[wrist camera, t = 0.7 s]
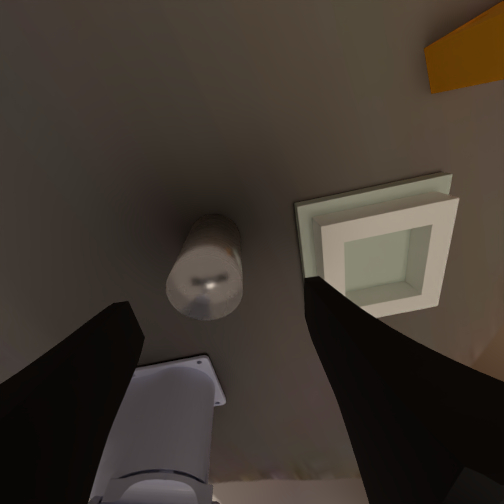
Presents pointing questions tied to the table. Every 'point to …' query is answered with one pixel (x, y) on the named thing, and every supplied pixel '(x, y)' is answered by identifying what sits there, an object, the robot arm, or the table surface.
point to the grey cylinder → (208, 270)
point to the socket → (381, 242)
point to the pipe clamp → (468, 53)
